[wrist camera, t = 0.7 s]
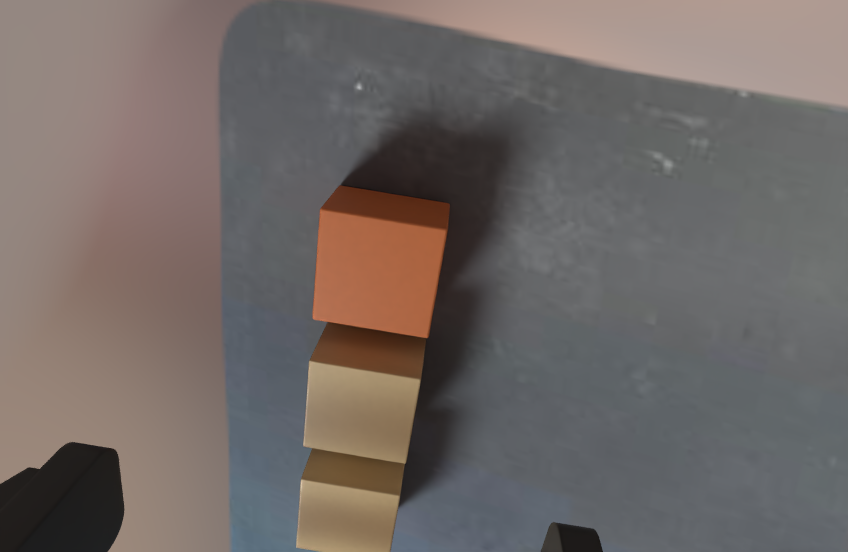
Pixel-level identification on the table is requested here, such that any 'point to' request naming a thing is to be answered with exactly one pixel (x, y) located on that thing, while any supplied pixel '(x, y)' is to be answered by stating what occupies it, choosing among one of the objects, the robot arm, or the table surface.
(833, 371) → the table surface
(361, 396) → the word tile
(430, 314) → the orange square block
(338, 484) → the tile
